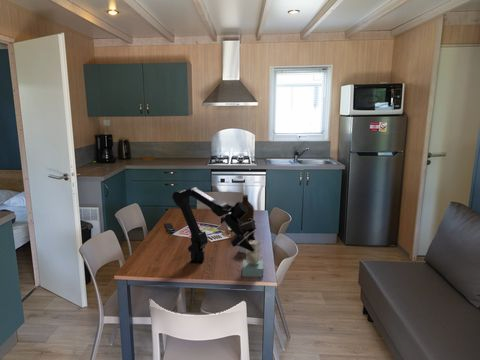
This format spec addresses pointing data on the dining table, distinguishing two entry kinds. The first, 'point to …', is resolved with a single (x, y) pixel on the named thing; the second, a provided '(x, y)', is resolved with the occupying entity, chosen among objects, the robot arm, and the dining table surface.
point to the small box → (241, 249)
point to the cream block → (255, 255)
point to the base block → (252, 269)
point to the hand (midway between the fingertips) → (255, 249)
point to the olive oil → (250, 208)
